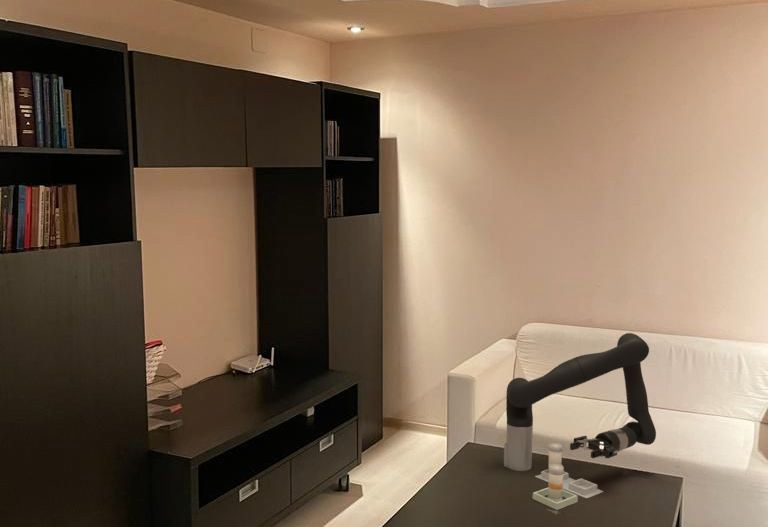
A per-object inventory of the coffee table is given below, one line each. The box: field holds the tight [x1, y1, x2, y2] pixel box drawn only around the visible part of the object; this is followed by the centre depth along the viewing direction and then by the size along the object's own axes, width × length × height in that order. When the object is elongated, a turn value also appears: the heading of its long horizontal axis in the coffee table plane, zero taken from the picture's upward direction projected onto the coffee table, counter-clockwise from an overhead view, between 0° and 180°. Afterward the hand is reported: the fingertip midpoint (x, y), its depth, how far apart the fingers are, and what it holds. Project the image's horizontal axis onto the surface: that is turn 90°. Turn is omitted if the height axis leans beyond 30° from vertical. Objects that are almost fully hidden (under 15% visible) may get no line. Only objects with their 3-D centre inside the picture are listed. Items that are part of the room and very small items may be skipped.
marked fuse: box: [547, 464, 565, 502], centre depth 233 cm, size 5×5×12 cm
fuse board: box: [534, 469, 604, 499], centre depth 246 cm, size 22×9×4 cm, turn 36°
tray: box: [532, 487, 579, 515], centre depth 233 cm, size 10×10×4 cm
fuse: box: [547, 441, 563, 474], centre depth 251 cm, size 5×5×12 cm
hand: (581, 450), depth 239 cm, fingers open, 8 cm apart
